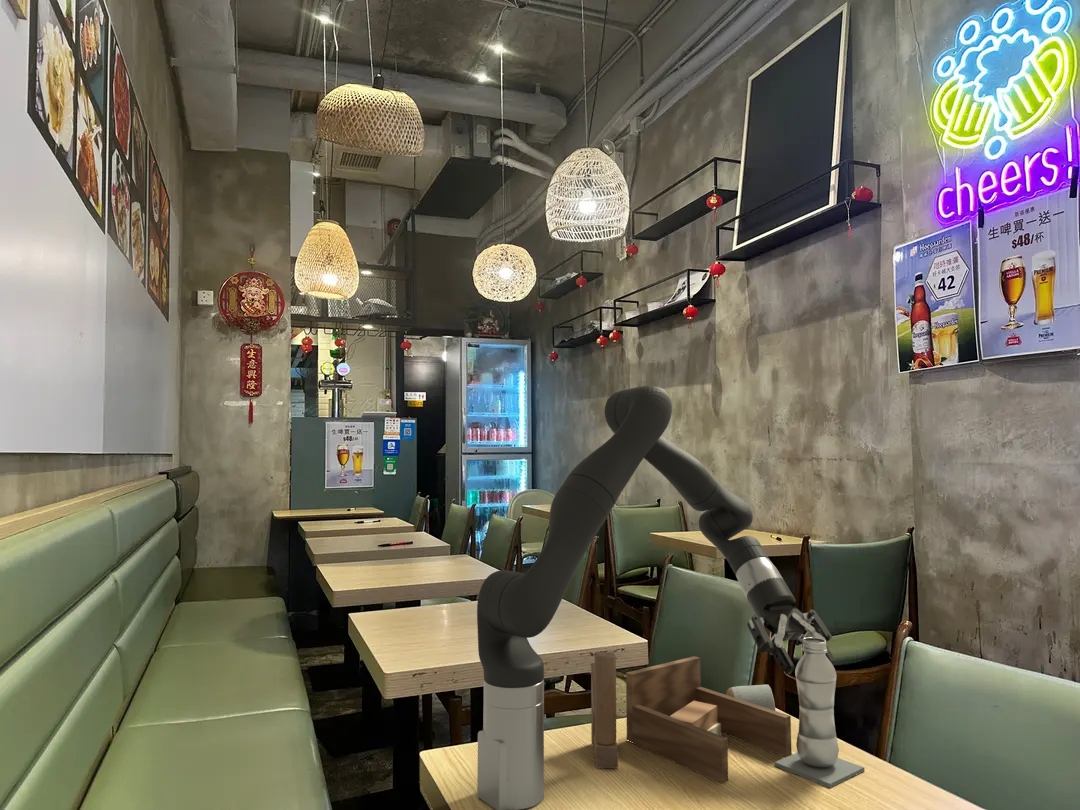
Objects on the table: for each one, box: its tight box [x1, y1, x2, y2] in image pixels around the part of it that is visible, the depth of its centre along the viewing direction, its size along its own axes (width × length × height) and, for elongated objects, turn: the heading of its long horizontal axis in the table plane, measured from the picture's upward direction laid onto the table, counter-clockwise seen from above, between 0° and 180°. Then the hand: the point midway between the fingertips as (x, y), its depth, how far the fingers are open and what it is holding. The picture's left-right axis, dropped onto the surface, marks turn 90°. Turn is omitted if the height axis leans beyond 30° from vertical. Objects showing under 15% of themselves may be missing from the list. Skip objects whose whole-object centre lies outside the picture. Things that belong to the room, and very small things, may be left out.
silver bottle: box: [794, 637, 840, 767], centre depth 118 cm, size 6×7×20 cm
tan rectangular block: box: [670, 701, 722, 736], centre depth 127 cm, size 12×5×6 cm, turn 140°
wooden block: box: [590, 651, 619, 769], centre depth 123 cm, size 4×11×18 cm, turn 0°
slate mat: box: [774, 752, 865, 789], centre depth 117 cm, size 10×10×1 cm
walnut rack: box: [625, 656, 793, 784], centre depth 126 cm, size 18×22×12 cm
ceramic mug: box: [725, 684, 776, 711], centre depth 135 cm, size 11×8×8 cm
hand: (811, 669), depth 119 cm, fingers open, 8 cm apart
